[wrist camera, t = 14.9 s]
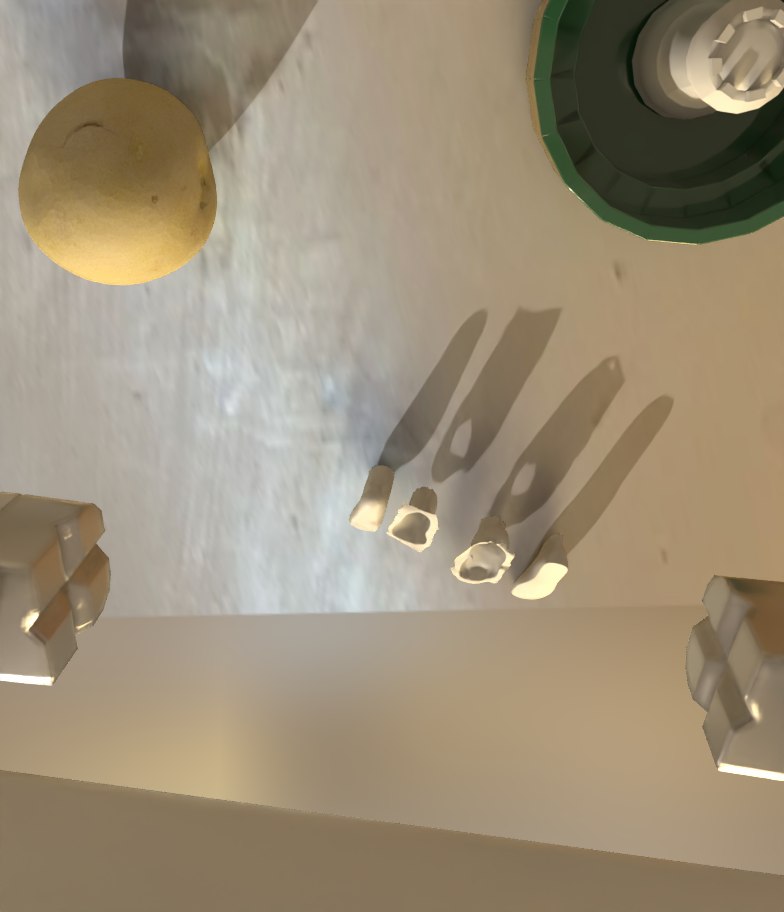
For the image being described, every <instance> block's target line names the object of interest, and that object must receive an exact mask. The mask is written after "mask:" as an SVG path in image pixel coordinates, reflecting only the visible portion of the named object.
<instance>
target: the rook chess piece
mask: <svg viewBox="0 0 784 912" xmlns="http://www.w3.org/2000/svg"><path fill="white" fill-rule="evenodd" d="M632 66H633V76H634V85H635V87H636V89H637V90H638V92H639V94H640V96H641V97H642V99H643V101H644V103H645V104H646V105H647V106H649V107H650V108H651V109H653V110H654V111H656V112H657V113H659V114H660V115H661V116H663V117H670V118H676V119H683V120H685V119H693V118H697V117H701V116H705V115H709V114H712V113H714V112H715V111H722V112H729V113H735V114H739V113H742V112H746V111H750V110H754V109H758V108H760V107H761V106H763V105H764V104H766V103H767V102H768V101H770V100H771V99H773V98H774V97H776V96H777V95H778V94H779V93H780V92H781V91H782V89H783V88H784V3H783V2H782V1H781V0H669V1H668V2H666V3H665V4H664V5H662V6H661V7H660V8H659V9H657V10H656V11H655V12H653V14H652V15H651V17H650V18H649V20H648V22H647V23H646V25H645V26H644V28H643V29H642V31H641V32H640V34H639V35H638V39H637V43H636V47H635V51H634V55H633V59H632Z"/></svg>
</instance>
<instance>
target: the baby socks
mask: <svg viewBox="0 0 784 912" xmlns="http://www.w3.org/2000/svg"><path fill="white" fill-rule="evenodd" d="M393 480H394V473H393V470H392V469H390V468H389V467H388V466H387V467H385V466H384V465H383V466H382V465H379V466H374V467H373V468H372V469H371V470H370V471H369V476H368V479H367V481H366V484H365V486H364V490H363V494H362V496H361V499H360V501H359V502H358V504H357V505H356V507H355V508H354V509H353V511H352V513H351V515H350V518H349V522H350V523H351V525H353V526H355V527H356V528H358V529H363V530H367V531H376V530H377V529H378V528H379V527H380V525H381V523H382V521H383V518H384V515H385V512H386V507H387V503H388V499H389V496H390V493H391V489H392V484H393ZM402 507H403V508H401V509H399V510H398V512H399V513H398V514H399V515H397V516H396V517H394V518H395V520H394V522H393V523H392V524H391V525H389V528H388V530H389V532H388V533H387V534H389V535H390V536H392V537H394V538H396V539H397V540H399V541H401V542H403V543H404V544H406V545H408V546H410V547H412V548H413V549H415V550H416V551H418V552H421V551H423V549H425V548H427V547H429V546H430V545H431V541H432V540H433V538H432V537H434V533H436V532H435V531H436V530H438V529H439V528H438V527H437V524H438V521H437V517H438V516H435V512H436V507H437V495H436V494H435V492H434V491H433V489H431V490H430V489H428V487H427V488H426V487H421V488H420V489H419V488H418V489H416V491H415V492H413V495H412V498H411V501H410V503H409V505H408V504H406V502H403V506H402ZM505 527H506V525H505V524H504V521H502V520H501V519H500V518H499V517H498V516H496V517H492V516H491V517H487V518H484V519H482V520H481V521H480V525H479V530H478V532H477V534H476V535H475V537H474V539H473V540H472V543H471V547H470V548H469V549H468V550H467V551H465V552H464V553H463V554H462V555H460V556H458V557H457V559H455V562H454V563H455V564H456V565H455V567H454V568H450V569H451V570H452V571H453V573H452V574H454V575H455V576H456V577H457V578H458V579H459V580H461V581H463V582H468V583H481V582H492V583H497V582H498V581H497V580H500V579H501V577H502V575H501V574H503V573H504V571H506V570H507V569H509V568H510V567H509V566H511V564H509V563H511V561H512V559H513V558H514V557H515V556H516V555H515V552H514V553H512V554H510V553H508V549H509V537H508V534H507V531H506V530H505ZM567 570H568V561H567V557H566V553H565V550H564V547H563V535H562V534H560V533H556V534H553V535H552V536H551V537H550V538H549V539H548V540H547V541H546V542H545V543H544V545H543V547H542V549H541V551H540V552H539V554H538V556H537V557H536V559H535V560H534V561H533V563H532V564H531V565H530V566H529V567H528V569H527V570H526V571H525V572H523V573H522V574H521V575H520V576H519V577H518V579H517V580H516V581H515V583H514V584H513V586H512V590H511V592H512V594H513V595H515V596H517V597H520V598H524V599H538V598H542V597H545V596H547V595H549V594H550V593H551V592H552V591H553V590H554V588H555V586H556V584H557V583H558V581H559V580H560V579H561V578H562V577H563V576H564V575H565V574H566V572H567ZM496 579H497V580H496Z"/></svg>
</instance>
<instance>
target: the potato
mask: <svg viewBox="0 0 784 912" xmlns="http://www.w3.org/2000/svg"><path fill="white" fill-rule="evenodd" d="M18 189H19V203H20V210H21V216H22V219H23V222H24V225H25V227H26V229H27V231H28V233H29V235H30V236H31V238H32V239H33V241H34V242H35V243H36V245H37V246H38V247H39V248H40V249H41V250H42V251H43V252H44V253H45V254H46V255H47V256H48V257H49V258H51V259H52V260H53V261H54V262H56V263H57V264H58V265H60V266H61V267H63V268H64V269H66V270H68V271H69V272H71V273H73V274H75V275H77V276H79V277H82V278H84V279H87V280H90V281H95V282H99V283H104V284H112V285H132V284H139V283H144V282H148V281H151V280H154V279H157V278H160V277H162V276H165V275H167V274H169V273H171V272H173V271H175V270H177V269H178V268H180V267H182V266H183V265H184V264H186V263H187V262H188V261H189V260H191V259H192V258H193V257H194V256H195V255H196V254H197V253H198V252H199V251H200V249H201V248H202V247H203V246H204V244H205V243H206V241H207V239H208V237H209V235H210V232H211V230H212V227H213V224H214V220H215V215H216V207H217V193H216V184H215V179H214V174H213V170H212V166H211V161H210V157H209V153H208V150H207V146H206V142H205V138H204V135H203V132H202V130H201V128H200V126H199V123H198V121H197V120H196V118H195V117H194V115H193V114H192V113H191V111H190V110H189V109H188V108H187V107H186V106H185V105H184V104H183V103H182V102H181V101H180V100H179V99H177V98H176V97H175V96H173V95H172V94H171V93H169V92H167V91H166V90H164V89H162V88H160V87H157V86H155V85H152V84H149V83H146V82H143V81H138V80H133V79H124V78H111V79H103V80H99V81H95V82H92V83H89V84H87V85H85V86H83V87H80V88H78V89H77V90H75V91H74V92H72V93H70V94H69V95H68V96H66V97H65V98H64V99H63V100H61V101H60V102H59V103H58V104H57V105H56V106H55V107H54V108H53V109H52V110H51V111H50V112H49V113H48V114H47V116H46V117H45V118H44V119H43V121H42V122H41V124H40V125H39V127H38V129H37V130H36V132H35V134H34V136H33V138H32V140H31V143H30V145H29V148H28V151H27V154H26V157H25V159H24V163H23V166H22V170H21V174H20V179H19V188H18Z"/></svg>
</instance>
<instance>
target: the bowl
mask: <svg viewBox="0 0 784 912" xmlns="http://www.w3.org/2000/svg"><path fill="white" fill-rule="evenodd" d="M668 1H669V0H542V3H541V5H540V7H539V10H538V12H537V14H536V17H535V19H534V23H533V27H532V34H531V41H530V48H529V56H528V63H527V70H526V77H527V78H526V84H527V91H528V97H529V104H530V110H531V117H532V124H533V127H534V131H535V133H536V135H537V137H538V139H539V141H540V143H541V145H542V147H543V149H544V151H545V153H546V155H547V157H548V159H549V161H550V163H551V165H552V167H553V169H554V170H555V172H556V173H557V174H558V176H559V177H560V178H561V180H562V181H563V183H564V184H565V185H566V187H567V188H568V189H569V190H570V191H571V192H573V193H574V194H575V195H576V196H577V197H578V198H579V199H580V200H581V201H582V202H583V203H584V204H585V205H586V206H587V207H588V208H589V209H590V210H591V211H592V212H593V213H594V214H595V215H596V216H597V217H598V218H599V219H602V221H604V222H606V223H608V224H611V225H613V226H615V227H617V228H620V229H622V230H624V231H626V232H628V233H631V234H633V235H635V236H637V237H640V238H642V239H644V240H648V241H657V242H668V243H680V244H691V245H697V244H699V245H700V244H705V243H710V242H714V241H719V240H723V239H728V238H733V237H737V236H742V235H746V234H750V233H751V232H752V233H753V232H755V231H757V230H759V229H761V228H763V227H765V226H767V225H769V224H770V223H772V222H774V221H776V220H778V219H780V218H782V217H784V88H783V89H782V91H781V92H780V93H779V94H778V95H777V96H776V97H774V98H773V99H771V100H770V101H768V102H767V103H766V104H764V105H763V106H761V107H760V108H758V109H754V110H750V111H746V112H742V113H739V114H735V113H729V112H722V111H715V112H714V113H712V114H709V115H705V116H701V117H697V118H693V119H685V120H683V119H676V118H670V117H663V116H661V115H660V114H659V113H657V112H656V111H654V110H653V109H651V108H650V107H649V106H647V105H646V104H645V103H644V101H643V99H642V97H641V96H640V94H639V92H638V90H637V89H636V87H635V85H634V76H633V66H632V59H633V55H634V51H635V47H636V43H637V39H638V35H639V34H640V32H641V31H642V29H643V28H644V26H645V25H646V23H647V22H648V20H649V18H650V17H651V15H652V14H653V12H655V11H656V10H657V9H659V8H660V7H661V6H662V5H664V4H665V3H666V2H668ZM781 1H782V2H783V3H784V0H781Z"/></svg>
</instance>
